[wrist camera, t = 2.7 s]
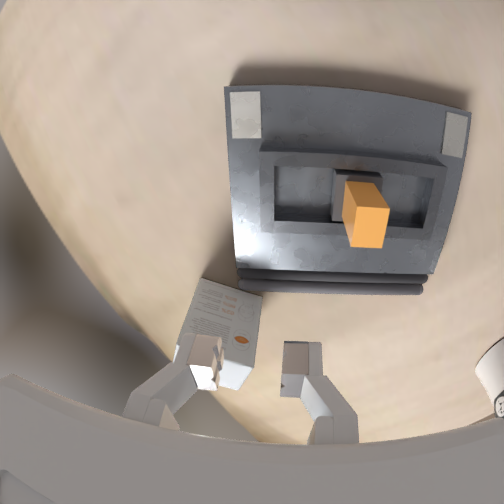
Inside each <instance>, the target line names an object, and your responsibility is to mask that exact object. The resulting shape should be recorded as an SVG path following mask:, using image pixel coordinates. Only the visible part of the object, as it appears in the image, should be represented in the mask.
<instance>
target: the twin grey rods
mask: <svg viewBox="0 0 504 504" xmlns="http://www.w3.org/2000/svg"><path fill="white" fill-rule="evenodd" d="M237 274H238V276H239V277H241V278H242V279H240V280H239V282H238V286H239V288H240V289H241V290H249V291H268V292H291V293H318V294H356V295H420V294H421V293H422V292H423V286H422V285H421V284H422V283H425V282H426V281H427V279H428V276H427V274H394V273H359V272H328V271H301V270H276V269H253V268H238V270H237Z"/></svg>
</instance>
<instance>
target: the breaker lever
mask: <svg viewBox="0 0 504 504" xmlns="http://www.w3.org/2000/svg"><path fill="white" fill-rule="evenodd" d="M382 185H383V177H382V176H381V174H380V173H379V172H373V171H361V170H349V169H334V173H333V186H332V198H331V209H330V214H331V218H332V221H343V222H344V225H345V228H346V232H347V235H348V239H349V242H350V246H351V247H364V248H382V245H383V241H384V236H385V231H386V227H387V222H388V217H389V212H390V208H389V206H388V205H387V203H386V201H385V200H384V198H383V197H382V195H381V191H382Z"/></svg>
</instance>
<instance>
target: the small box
mask: <svg viewBox="0 0 504 504" xmlns="http://www.w3.org/2000/svg"><path fill="white" fill-rule="evenodd" d="M262 299H263V298H262V297H261V296H257V295H254V294H251V293H247V292H244V291H241V290H238V289H235V288H232V287H229V286H225V285H222V284H219V283H216V282H213V281H210V280H207V279H204V278H200V280H199V282H198V285H197V288H196V291H195V293H194V296H193V299H192V302H191V304H190V307H189V310H188V313H187V315H186V318H185V320H184V323H183V326H182V329H181V332H180V334H179V337H178V340H177V343H176V349H175V354H174V359H173V363H174V360H175V357H176V355H177V352H178V349H179V346H180V344H181V341H182V338H183V336H184V334H185V333H193V334H200V335H208V336H216V337H221V339H222V345H221V347H222V348H223V351H224V361H223V367H222V370H221V371H220V372H219V375H220V381H219V386H223V387H227V388H230V389H234V390H239V389H240V387H241V386H242V384H243V383H244V381H245V380H246V378H247V377H248V375H249V374H250V372H251V371H252V369H253V368H254V364H255V355H256V347H257V340H258V332H259V324H260V315H261V307H262Z"/></svg>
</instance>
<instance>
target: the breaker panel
mask: <svg viewBox="0 0 504 504" xmlns="http://www.w3.org/2000/svg"><path fill="white" fill-rule="evenodd" d="M224 95H225V113H226V129H227V146H228V161H229V176H230V191H231V205H232V219H233V233H234V246H235V258H236V268H253V269H276V270H301V271H328V272H359V273H394V274H433V273H434V271H435V268H436V265H437V262H438V259H439V256H440V253H441V250H442V247H443V244H444V241H445V238H446V235H447V231H448V228H449V224H450V221H451V217H452V214H453V210H454V206H455V202H456V198H457V194H458V190H459V185H460V181H461V176H462V171H463V166H464V161H465V156H466V150H467V144H468V137H469V130H470V122H471V113H470V112H468V111H465V110H462V109H459V108H455V107H451V106H447V105H443V104H439V103H435V102H430V101H426V100H421V99H416V98H411V97H406V96H400V95H394V94H388V93H382V92H375V91H367V90H359V89H350V88H340V87H327V86H311V85H234V86H226V87H224ZM334 169H349V170H361V171H373V172H379V173H380V174H381V176H382V177H383V185H382V191H381V195H382V197H383V198H384V200H385V201H386V203H387V205H388V206H389V208H390V212H389V217H388V222H387V227H386V231H385V236H384V241H383V245H382V248H364V247H351V246H350V242H349V239H348V235H347V232H346V228H345V225H344V222H343V221H332V218H331V214H330V209H331V198H332V186H333V173H334Z"/></svg>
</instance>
